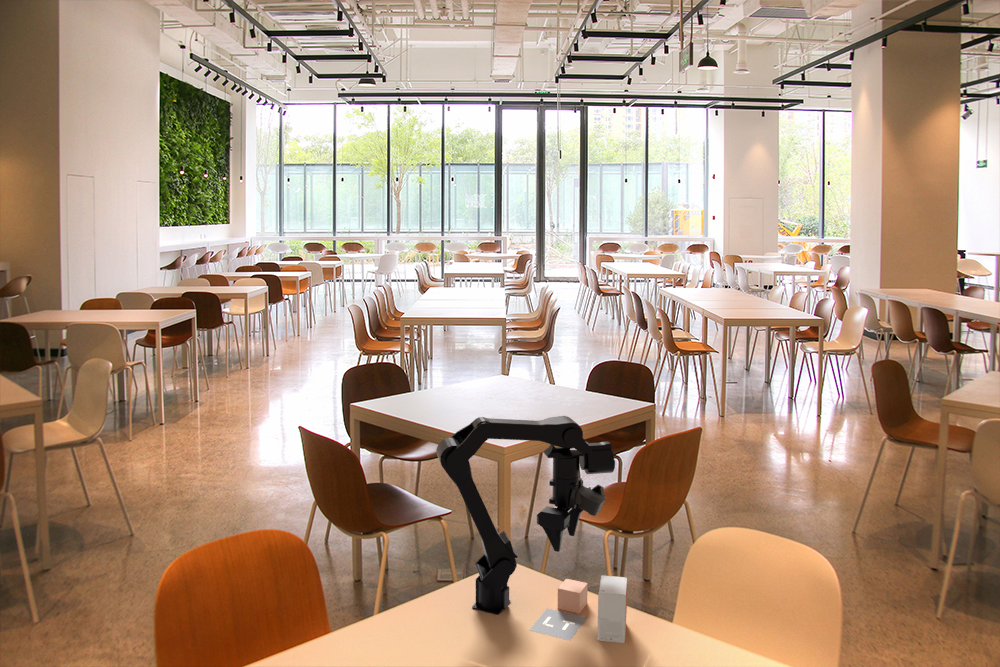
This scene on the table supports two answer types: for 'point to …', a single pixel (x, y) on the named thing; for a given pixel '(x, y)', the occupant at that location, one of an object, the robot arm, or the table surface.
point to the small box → (612, 609)
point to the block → (572, 595)
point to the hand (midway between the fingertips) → (564, 543)
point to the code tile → (558, 624)
